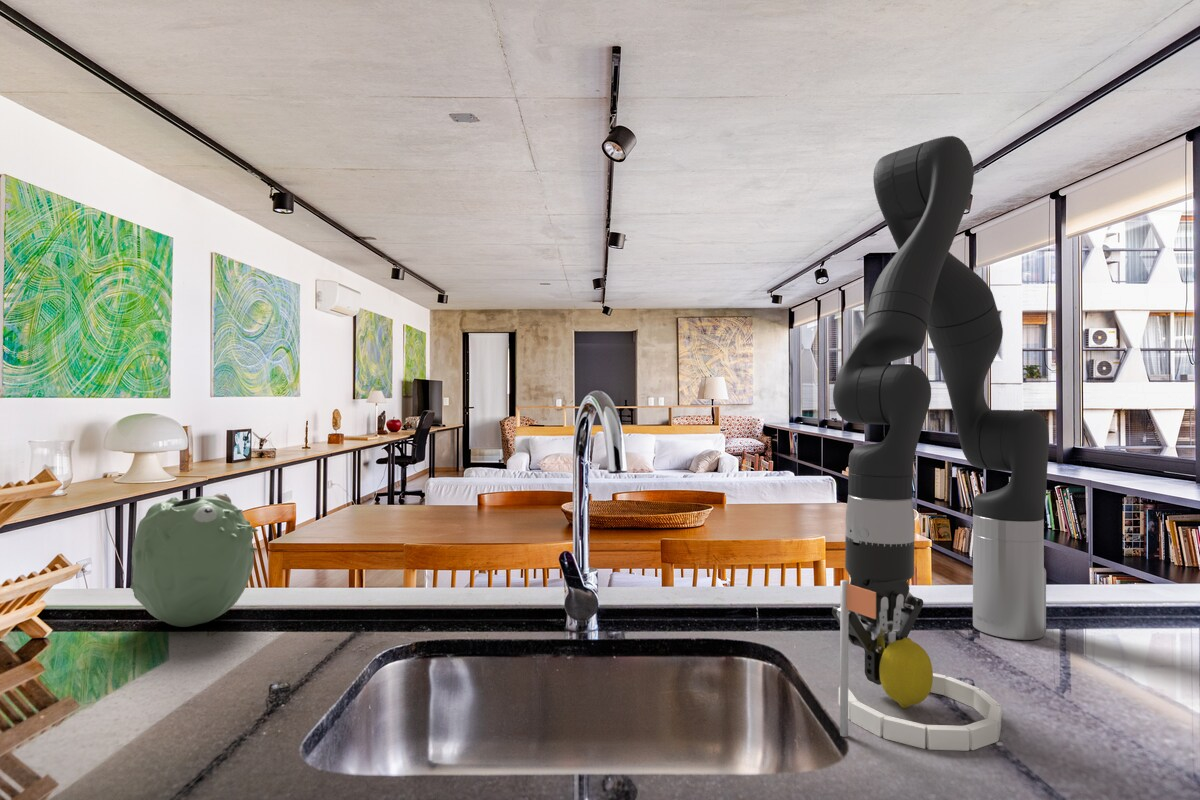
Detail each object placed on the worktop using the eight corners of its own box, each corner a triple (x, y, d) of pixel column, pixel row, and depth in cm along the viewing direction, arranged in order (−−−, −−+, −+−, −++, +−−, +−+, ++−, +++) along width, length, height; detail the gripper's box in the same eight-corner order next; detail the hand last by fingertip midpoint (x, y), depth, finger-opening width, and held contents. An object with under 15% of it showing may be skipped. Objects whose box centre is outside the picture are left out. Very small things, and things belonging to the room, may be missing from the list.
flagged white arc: (922, 681, 86) (922, 552, 86) (1033, 729, 74) (1034, 578, 73) (802, 713, 77) (802, 569, 77) (906, 773, 65) (906, 601, 65)
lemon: (938, 722, 75) (941, 649, 75) (884, 717, 76) (887, 645, 76) (922, 698, 81) (926, 630, 80) (872, 693, 82) (875, 626, 81)
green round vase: (172, 606, 116) (172, 486, 116) (279, 610, 114) (279, 488, 114) (94, 638, 100) (94, 500, 100) (216, 644, 98) (216, 503, 98)
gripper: (893, 524, 88) (891, 661, 88) (813, 533, 82) (812, 679, 82) (945, 535, 81) (944, 683, 81) (863, 546, 75) (861, 705, 75)
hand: (877, 681), depth 82 cm, fingers closed
